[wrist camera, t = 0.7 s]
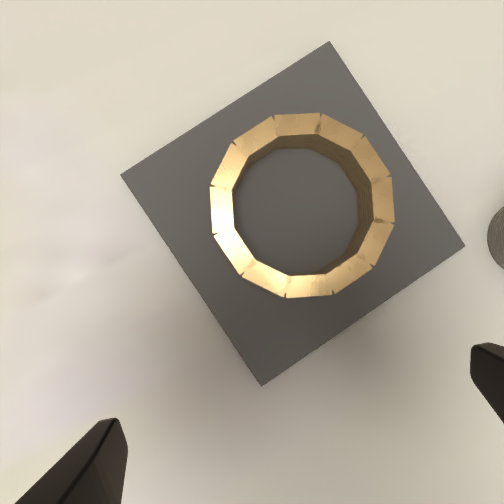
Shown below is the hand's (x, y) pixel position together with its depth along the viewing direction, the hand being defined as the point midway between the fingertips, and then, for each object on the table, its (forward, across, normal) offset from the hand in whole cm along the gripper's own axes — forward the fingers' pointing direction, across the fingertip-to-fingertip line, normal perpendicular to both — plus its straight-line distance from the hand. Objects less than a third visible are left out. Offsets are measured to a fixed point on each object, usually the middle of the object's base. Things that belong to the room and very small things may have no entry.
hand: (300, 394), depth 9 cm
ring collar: (+14, -3, -2) cm, 15 cm away
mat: (+15, -3, -1) cm, 15 cm away
